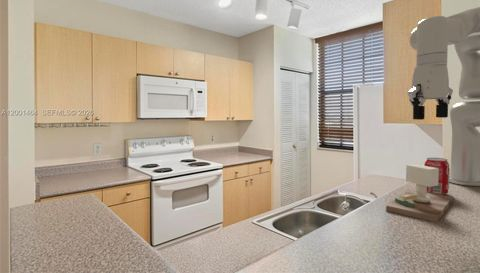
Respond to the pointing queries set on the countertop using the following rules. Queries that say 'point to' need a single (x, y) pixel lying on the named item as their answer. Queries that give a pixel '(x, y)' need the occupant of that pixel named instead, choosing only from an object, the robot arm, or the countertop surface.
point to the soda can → (439, 175)
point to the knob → (421, 181)
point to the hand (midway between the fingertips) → (430, 118)
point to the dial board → (421, 206)
